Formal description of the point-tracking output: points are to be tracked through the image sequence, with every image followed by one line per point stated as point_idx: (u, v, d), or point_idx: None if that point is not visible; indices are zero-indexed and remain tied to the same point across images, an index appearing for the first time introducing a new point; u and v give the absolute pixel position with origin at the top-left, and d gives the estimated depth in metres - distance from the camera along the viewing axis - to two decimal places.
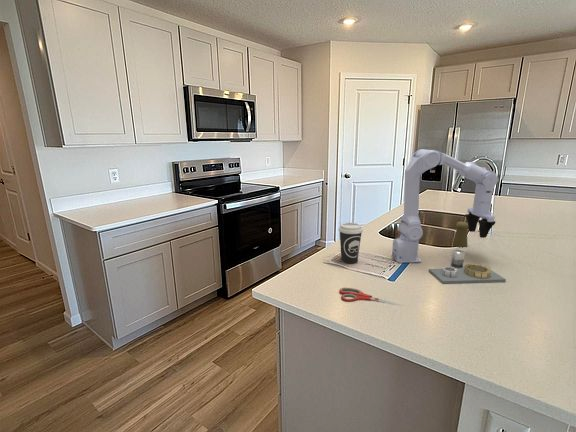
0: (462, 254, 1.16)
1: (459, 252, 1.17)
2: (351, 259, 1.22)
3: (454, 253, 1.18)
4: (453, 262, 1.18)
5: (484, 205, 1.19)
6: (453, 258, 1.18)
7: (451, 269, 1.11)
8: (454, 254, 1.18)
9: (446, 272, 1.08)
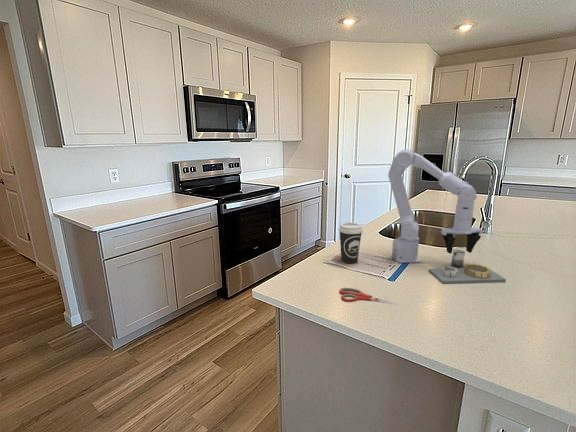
0: (462, 254, 1.16)
1: (459, 252, 1.17)
2: (351, 259, 1.22)
3: (454, 253, 1.18)
4: (453, 262, 1.18)
5: (454, 220, 1.15)
6: (453, 258, 1.18)
7: (451, 269, 1.11)
8: (454, 254, 1.18)
9: (446, 272, 1.08)
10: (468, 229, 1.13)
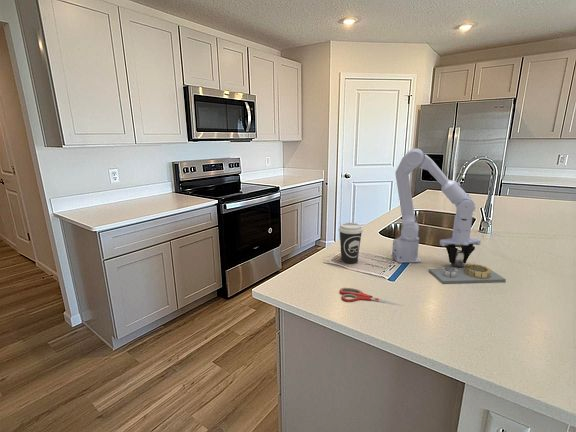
0: (462, 254, 1.16)
1: (459, 252, 1.17)
2: (351, 259, 1.22)
3: None
4: None
5: (453, 231, 1.17)
6: None
7: (451, 269, 1.11)
8: None
9: (446, 272, 1.08)
10: (466, 240, 1.14)
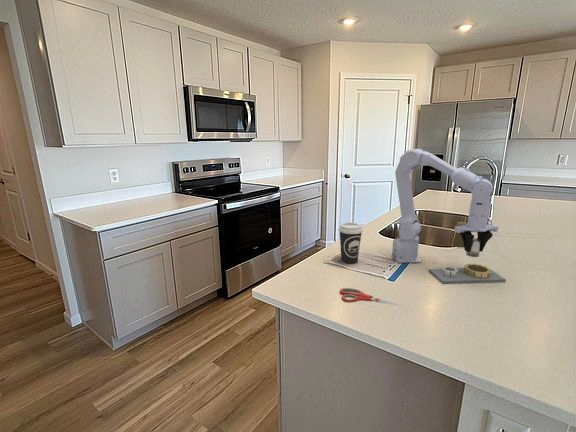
0: (478, 241, 1.09)
1: (475, 240, 1.10)
2: (351, 258, 1.22)
3: None
4: None
5: (469, 217, 1.09)
6: None
7: (451, 269, 1.11)
8: None
9: (446, 272, 1.08)
10: (484, 226, 1.07)
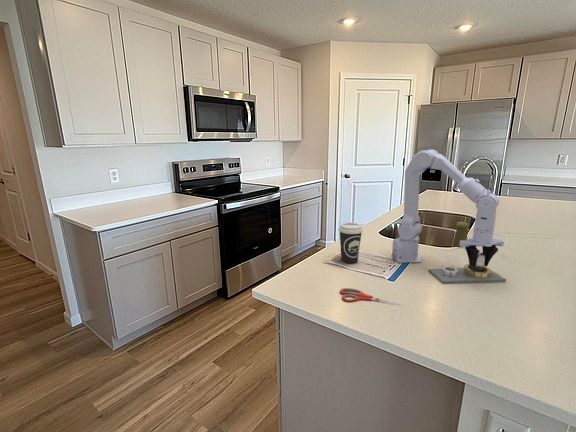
0: (483, 256, 1.07)
1: (480, 254, 1.08)
2: (351, 258, 1.22)
3: None
4: None
5: (474, 231, 1.07)
6: None
7: (451, 269, 1.11)
8: None
9: (446, 272, 1.08)
10: (489, 241, 1.05)
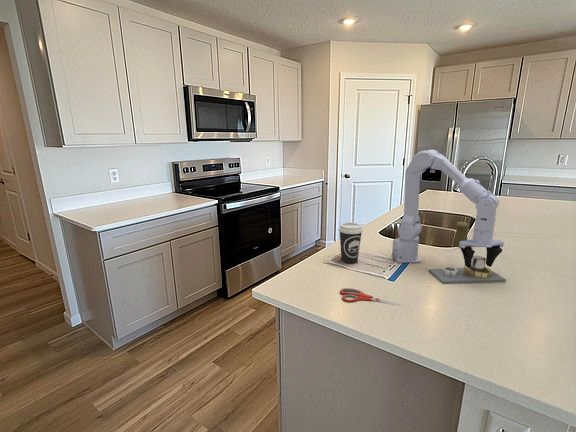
0: (483, 260, 1.07)
1: (479, 258, 1.08)
2: (351, 259, 1.22)
3: (474, 259, 1.09)
4: (473, 269, 1.10)
5: (474, 231, 1.07)
6: (473, 265, 1.10)
7: (451, 269, 1.11)
8: (474, 261, 1.09)
9: (446, 272, 1.08)
10: (489, 242, 1.05)
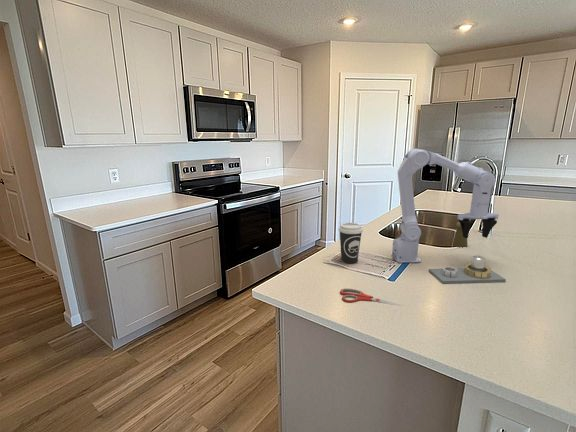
0: (483, 260, 1.07)
1: (480, 258, 1.08)
2: (351, 258, 1.22)
3: (474, 259, 1.09)
4: (473, 269, 1.10)
5: (471, 205, 1.18)
6: (473, 265, 1.10)
7: (451, 269, 1.11)
8: (474, 261, 1.09)
9: (446, 272, 1.08)
10: (485, 214, 1.15)
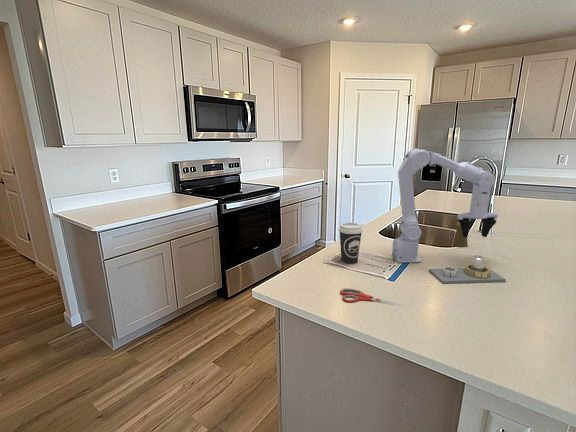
0: (483, 260, 1.07)
1: (480, 258, 1.08)
2: (351, 258, 1.22)
3: (474, 259, 1.09)
4: (473, 269, 1.10)
5: (471, 205, 1.18)
6: (473, 265, 1.10)
7: (451, 269, 1.11)
8: (474, 261, 1.09)
9: (446, 272, 1.08)
10: (484, 213, 1.16)
